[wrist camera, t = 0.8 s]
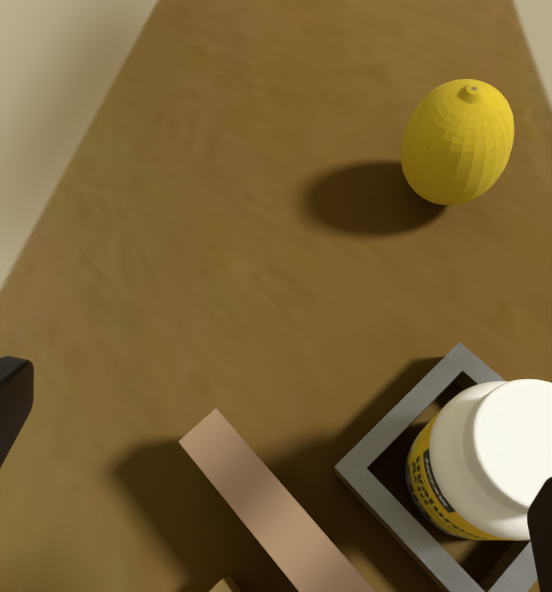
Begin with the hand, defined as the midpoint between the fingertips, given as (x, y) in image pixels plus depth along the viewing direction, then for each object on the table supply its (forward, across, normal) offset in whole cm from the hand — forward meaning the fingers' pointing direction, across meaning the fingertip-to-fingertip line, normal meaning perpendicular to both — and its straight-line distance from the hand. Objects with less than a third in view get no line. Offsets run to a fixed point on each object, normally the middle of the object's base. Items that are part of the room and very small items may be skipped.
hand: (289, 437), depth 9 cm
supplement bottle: (+12, -10, +11) cm, 19 cm away
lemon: (+25, -8, +1) cm, 26 cm away
